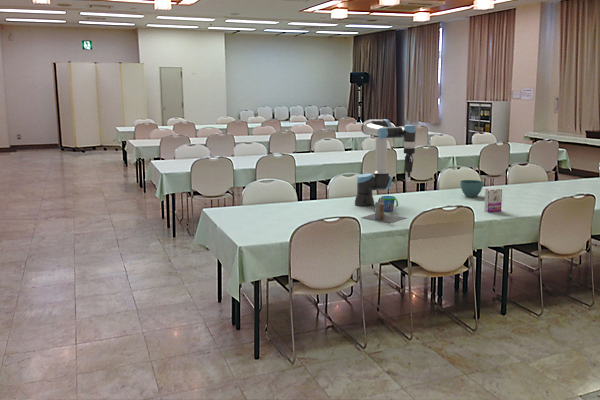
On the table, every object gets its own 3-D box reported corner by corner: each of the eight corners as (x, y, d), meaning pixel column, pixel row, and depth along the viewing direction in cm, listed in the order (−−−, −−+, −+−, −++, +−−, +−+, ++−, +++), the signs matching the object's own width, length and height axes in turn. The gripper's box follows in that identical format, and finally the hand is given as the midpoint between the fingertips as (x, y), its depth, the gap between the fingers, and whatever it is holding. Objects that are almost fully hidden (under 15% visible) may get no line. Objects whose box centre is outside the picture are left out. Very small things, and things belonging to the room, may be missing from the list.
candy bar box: (497, 210, 420) (498, 187, 417) (501, 211, 415) (502, 189, 412) (483, 211, 417) (485, 188, 414) (487, 212, 412) (489, 190, 409)
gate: (379, 214, 406) (379, 200, 403) (383, 214, 405) (383, 200, 403) (379, 219, 392) (379, 204, 390) (383, 219, 391) (383, 204, 389)
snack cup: (374, 210, 423) (375, 196, 421) (383, 207, 431) (383, 194, 429) (392, 213, 413) (393, 199, 411) (400, 210, 420) (401, 197, 418)
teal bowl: (455, 195, 477) (455, 180, 475) (474, 193, 482) (474, 179, 480) (467, 199, 460) (468, 184, 458) (487, 197, 465) (488, 182, 463)
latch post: (375, 219, 395) (375, 202, 393) (379, 219, 395) (379, 202, 392) (374, 220, 390) (375, 203, 388) (379, 220, 390) (379, 203, 387)
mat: (361, 217, 399) (361, 217, 399) (378, 213, 413) (378, 212, 413) (389, 223, 383) (389, 222, 383) (406, 218, 397) (406, 217, 397)
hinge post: (377, 214, 410) (378, 197, 408) (384, 214, 410) (385, 197, 407) (377, 215, 405) (378, 198, 403) (385, 215, 405) (385, 199, 402)
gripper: (417, 148, 387) (416, 183, 392) (411, 146, 400) (410, 179, 405) (406, 148, 387) (405, 183, 392) (401, 146, 399) (400, 180, 404)
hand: (408, 181), depth 398 cm, fingers closed
